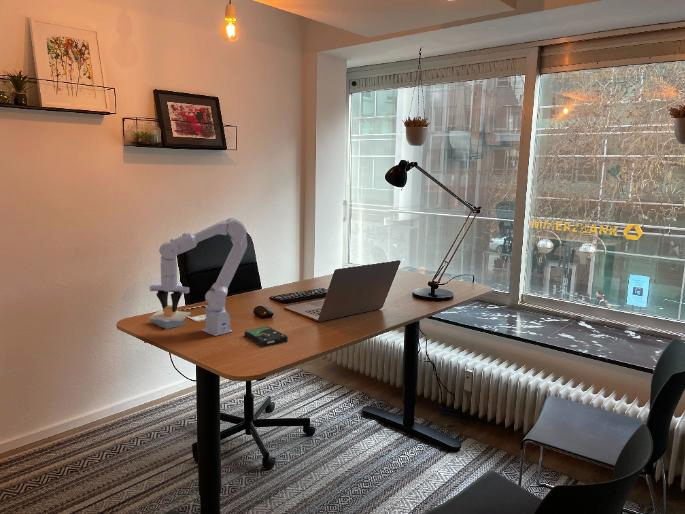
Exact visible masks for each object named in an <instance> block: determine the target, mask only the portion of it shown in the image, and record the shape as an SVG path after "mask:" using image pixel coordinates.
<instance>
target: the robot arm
mask: <svg viewBox="0 0 685 514" xmlns="http://www.w3.org/2000/svg"><path fill="white" fill-rule="evenodd" d="M247 232H248V231H247V229H246V227H245V225H244V223H243V222H241V221H240V220H237V219H236V218H234V217H230V218H227V219H226V220H225V219H224V220H221V221H219V222H217V223H215V224H213V225H210V226H208V227H206V228H205V229H202V230H200V231H198V232H196V233H194V234H193V233H191V232H187V233H186V232H184V233H182V236H179V237H177V238H175V239H173V238H171V239H169V241H165V242H163V243H162V244H161V245H160V247H159V250H158V252H159V254H160V255H161V256H160V284H158V285H157V284H151V285H150V286H149V292H156V293H155V294H156V297H157V299H158V300H159V302H160V304H161V307H162V310H163V311H164V308H165V307H166V306H168V297H169V293H171V294H170V298H171V304H172V311H173V312H175V311H178V305H179V302H180V300H181V297H182V295H183V294H189V293H190V286H189V287H188V286H182V285H178V263H177V256H178V255H180V254H183V253H185V252H187V251H188V252H189V251H190V250H192V249H194V248H196V247H197V244H198V243H199V242H202V241H204V240H208V239H209V238H211V237H214V236H216V235H223V236H227V235H228V237H229V238H230V241H231V243H232V247H231V249H230V251H229V253H228V256H227V257H226V260H225V262H224V264H223V265H222V268H221V270H220V272H219V275H218V276H217V279H216V282H214V283H213V284H212V285H211V287H210V289H209V290H208V291H207V292H206V293H205V296H204V299H205V302H206V303H207V305H205V306H206V308H205V314H206V320H205V328H201V329H200V331H201V332H204V333H207V334H210V335H212V336H217V337H218V336H221V335H225V334H228V333H232V332H233V330H232V329H231V316H230V313H229V312H227V311H226V306H225V305H226V297H227V295H228V292H229V289H228V288H229V286H230V285H231V282H232V281H233V278H234V276H235V274H236V272H237V269H238V267H239V265H240V263H241V261H242V259H243V257H244V255H245V253H246V250H247V248H248V237H247Z"/></svg>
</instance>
